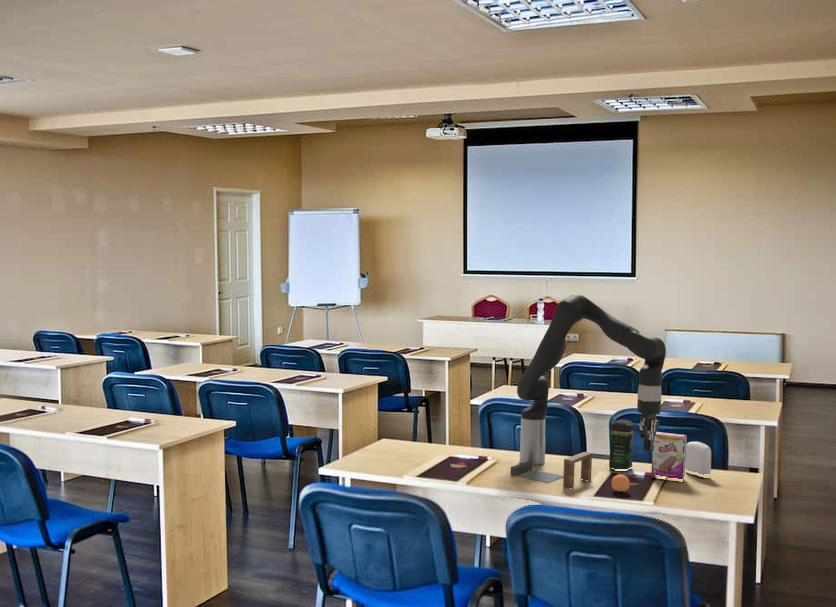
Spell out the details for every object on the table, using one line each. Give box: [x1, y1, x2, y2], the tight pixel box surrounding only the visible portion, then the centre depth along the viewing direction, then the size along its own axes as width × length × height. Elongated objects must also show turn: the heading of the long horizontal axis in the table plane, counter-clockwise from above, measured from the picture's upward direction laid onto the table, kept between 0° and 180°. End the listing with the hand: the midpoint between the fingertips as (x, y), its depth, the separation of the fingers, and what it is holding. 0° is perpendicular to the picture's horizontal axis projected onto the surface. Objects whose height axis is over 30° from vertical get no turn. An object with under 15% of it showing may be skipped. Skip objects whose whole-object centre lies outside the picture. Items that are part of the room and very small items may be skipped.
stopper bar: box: [509, 461, 533, 477], centre depth 313 cm, size 12×2×3 cm, turn 142°
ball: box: [611, 473, 631, 492], centre depth 289 cm, size 6×6×6 cm
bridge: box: [562, 451, 593, 489], centre depth 299 cm, size 3×15×10 cm, turn 142°
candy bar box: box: [651, 431, 688, 479], centre depth 308 cm, size 11×5×16 cm, turn 65°
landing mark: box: [518, 470, 564, 484], centre depth 308 cm, size 12×12×1 cm
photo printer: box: [685, 441, 712, 475], centre depth 315 cm, size 10×4×12 cm, turn 26°
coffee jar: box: [608, 418, 635, 469], centre depth 321 cm, size 10×8×19 cm
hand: (647, 450), depth 283 cm, fingers closed
